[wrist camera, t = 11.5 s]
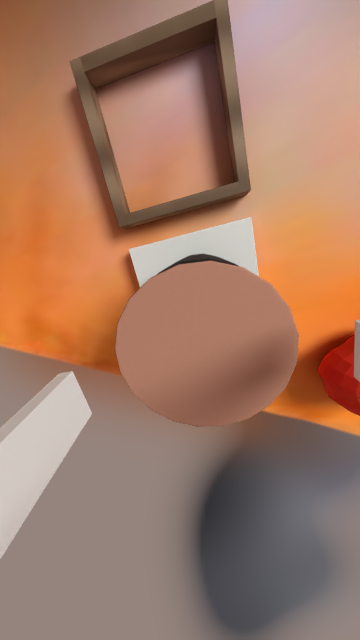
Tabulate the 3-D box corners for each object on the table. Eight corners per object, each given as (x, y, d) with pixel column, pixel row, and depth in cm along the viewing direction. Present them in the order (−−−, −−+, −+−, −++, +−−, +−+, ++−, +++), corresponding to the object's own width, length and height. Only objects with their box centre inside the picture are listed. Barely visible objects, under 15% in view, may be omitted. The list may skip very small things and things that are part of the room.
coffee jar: (174, 336, 32) (146, 439, 15) (152, 266, 29) (85, 291, 12) (246, 320, 30) (309, 413, 13) (231, 242, 27) (287, 232, 10)
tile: (133, 249, 30) (128, 249, 28) (247, 219, 28) (251, 216, 26) (162, 349, 35) (160, 355, 33) (262, 330, 32) (266, 335, 30)
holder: (82, 79, 24) (69, 61, 22) (223, 21, 22) (226, -6, 20) (125, 228, 29) (119, 227, 27) (246, 195, 27) (250, 189, 24)
